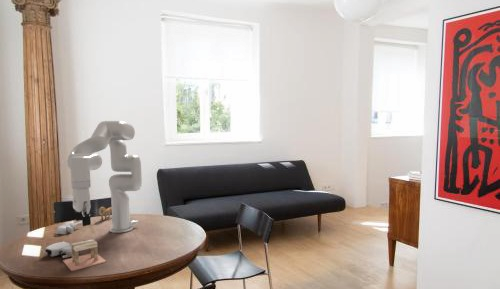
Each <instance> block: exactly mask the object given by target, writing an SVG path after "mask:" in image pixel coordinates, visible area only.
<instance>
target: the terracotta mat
mask: <svg viewBox="0 0 500 289" xmlns="http://www.w3.org/2000/svg"><path fill="white" fill-rule="evenodd" d="M62 262H63V263H64V264H65V266H66V267H67V268H68V269H69V270H70V271H71V272H73V271H74V272H75V271H78V270H80V269H81V270H82V269H85V268H86V269H87V268H89V267H92V266H96V265H97V266H98V265H100V264H103V263H107V261H106V259H104V258H103V257H102V256H101V255H100V254H98V260H97V261H95V260H94V257H93V258H91V253H87V254H81V255H79V265H77V266H76V265H75V262H72V257H71V258H70V257H69V258H65V259H63V260H62Z"/></svg>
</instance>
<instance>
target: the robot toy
mask: <svg viewBox="0 0 500 289" xmlns="http://www.w3.org/2000/svg"><path fill="white" fill-rule="evenodd" d="M40 251H42V252H43V253H45V255H47V256H50V257H56V256H60V258H62V259H69V258H70V257H71V258H72V245H71V243H69V242H66V241H65V240H63V241H60V242H55V243H52V244H49V245H48V246H46V247H45V250H43V248H40ZM83 251H84V250H80V251H79V253H80V252H83Z"/></svg>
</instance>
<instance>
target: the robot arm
mask: <svg viewBox="0 0 500 289" xmlns="http://www.w3.org/2000/svg"><path fill="white" fill-rule="evenodd" d="M135 134H136V131H135V127H134V126H133V125H132V124H130V123H128V122H125V121H122V120H104V121H100V122H99V123H98V124H97V126H96V127H95V129H94V131H93V132H92V134H91V136H90V138H87V139H85V140H84V141H81V142H80V143H78V144H76V145H75V146H74V147H73V148H72V150H71V151H70V153H69V155H68V157H67V161H66V162H67V164H66V165H67V168H69V169H70V180H71V184H70V185H71V190H72V208H73V210H74V211H75V221H76V222H80V221H81V222H82V224H81V225H82V226H83V227H87V226H91V224H92V222H91V197H90V188H91V184H92V183H91V172H90V171H95V170H99V169H100V167H101V166H102V164H103V159H102V157H101V155H100V154H97V153H98V152H101V151H104V150H105V149H107V147H108V146H109V151H110V167H111V170H112V171H113V172H114V173H115V172H116V173H118V174H113V175H111V176H110V177H109V179H108V187H109V191H110V198H111V200H110V201H111V207H112V213H111V225H112V226H111V227H109V232H110V233H113V234H117V233H118V234H119V233H120V234H122V233H126V232H130V231H132V230H133V229H134V225H138V224H139V223H140V221H139V220H131V215H130V214H131V211H130V210H131V208H130V197H129V194H128V193H127V192H137V191H140V190H141V188H142V184H143V183H142V182H143V181H142V161H141V159H140V157H139V155H136V154H128V153H127V145H126V142H124V141H131V140H133V139H134V138H135ZM130 173H131V174H130Z"/></svg>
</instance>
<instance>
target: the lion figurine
mask: <svg viewBox="0 0 500 289" xmlns="http://www.w3.org/2000/svg"><path fill="white" fill-rule="evenodd" d="M111 214H112V206H110V207H108V208H106V207H104V206H100V207H99V208H98V215H99V216H100V217H101V219H100V221H103V220H104V221H108V218H110V217H111Z"/></svg>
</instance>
